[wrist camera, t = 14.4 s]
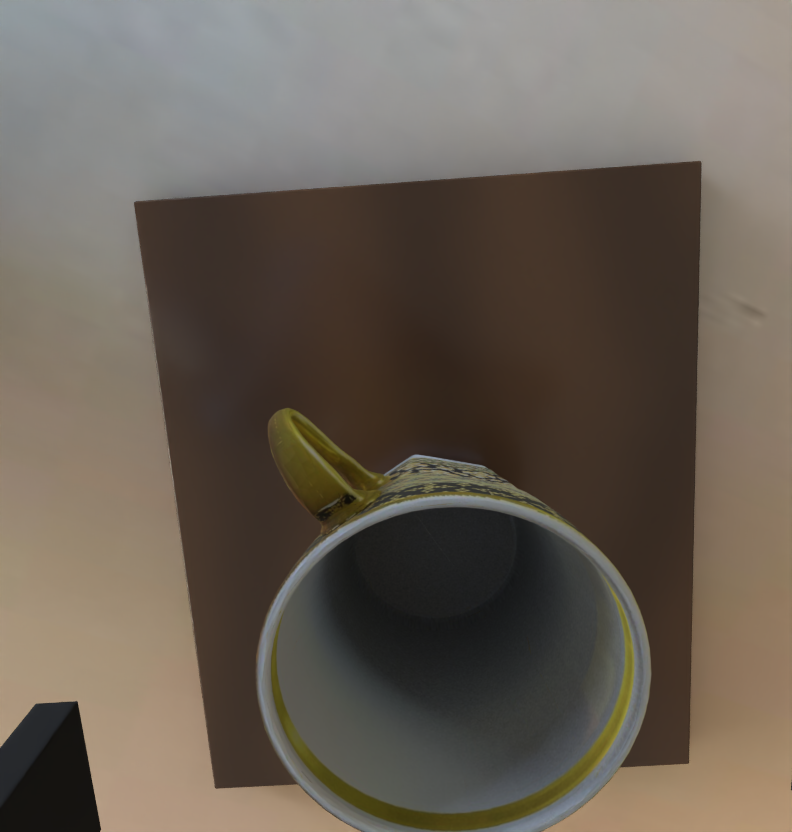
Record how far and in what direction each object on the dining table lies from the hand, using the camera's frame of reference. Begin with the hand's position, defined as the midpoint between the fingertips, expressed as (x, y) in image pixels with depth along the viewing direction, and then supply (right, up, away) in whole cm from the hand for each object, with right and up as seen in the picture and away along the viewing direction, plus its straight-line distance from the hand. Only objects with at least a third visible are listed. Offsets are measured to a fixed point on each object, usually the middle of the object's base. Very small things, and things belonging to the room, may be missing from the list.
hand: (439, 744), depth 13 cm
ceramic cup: (0, +3, +15) cm, 15 cm away
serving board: (+1, +3, +16) cm, 16 cm away
